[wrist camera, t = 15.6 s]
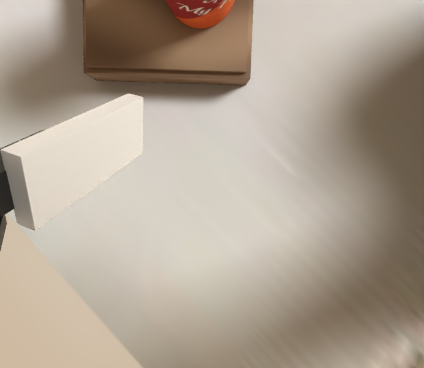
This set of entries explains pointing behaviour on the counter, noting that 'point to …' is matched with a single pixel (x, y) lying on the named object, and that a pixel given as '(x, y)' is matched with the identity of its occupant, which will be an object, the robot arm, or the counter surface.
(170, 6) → the paper cup
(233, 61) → the walnut plinth
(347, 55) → the counter surface
